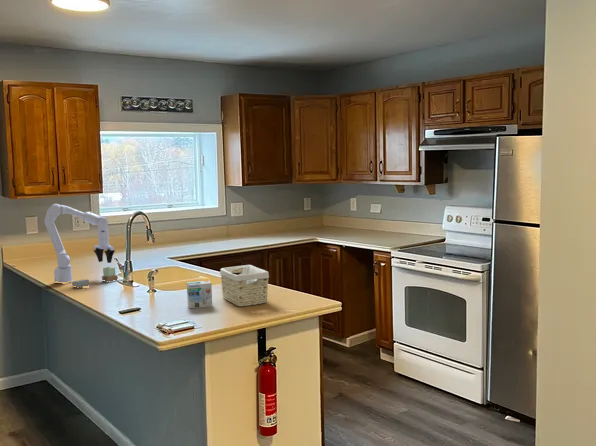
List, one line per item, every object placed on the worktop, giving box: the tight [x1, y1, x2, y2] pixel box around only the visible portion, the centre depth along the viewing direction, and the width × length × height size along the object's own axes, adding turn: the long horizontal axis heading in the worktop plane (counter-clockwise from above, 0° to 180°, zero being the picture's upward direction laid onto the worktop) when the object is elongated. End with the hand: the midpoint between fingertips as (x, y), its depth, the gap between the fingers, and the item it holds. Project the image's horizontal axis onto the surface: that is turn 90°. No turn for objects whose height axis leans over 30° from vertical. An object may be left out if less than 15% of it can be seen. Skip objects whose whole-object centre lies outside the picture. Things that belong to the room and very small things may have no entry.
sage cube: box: [102, 266, 116, 277], centre depth 325 cm, size 4×4×4 cm
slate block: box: [71, 279, 90, 287], centre depth 311 cm, size 6×6×4 cm
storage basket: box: [219, 264, 270, 307], centre depth 270 cm, size 24×16×15 cm
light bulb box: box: [186, 280, 213, 309], centre depth 262 cm, size 11×7×11 cm, turn 106°
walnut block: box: [101, 274, 119, 281], centre depth 325 cm, size 6×6×4 cm
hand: (105, 262), depth 330 cm, fingers open, 7 cm apart
